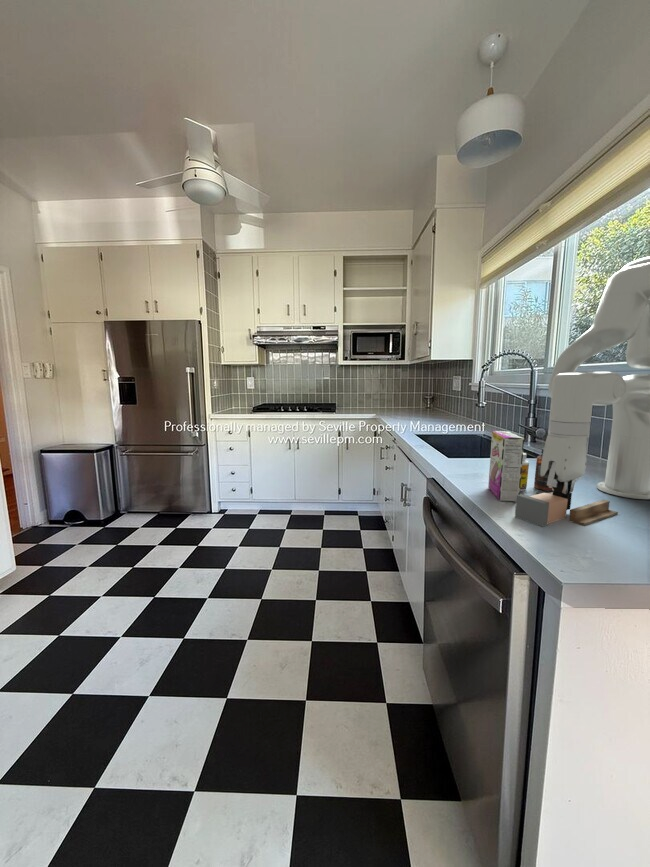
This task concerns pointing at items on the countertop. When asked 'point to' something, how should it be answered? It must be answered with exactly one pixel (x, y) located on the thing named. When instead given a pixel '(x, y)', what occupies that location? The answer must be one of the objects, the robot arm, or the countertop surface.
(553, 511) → the block
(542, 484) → the supplement bottle
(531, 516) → the block
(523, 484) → the supplement bottle
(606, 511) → the chute
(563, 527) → the countertop surface
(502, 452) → the candy bar box
